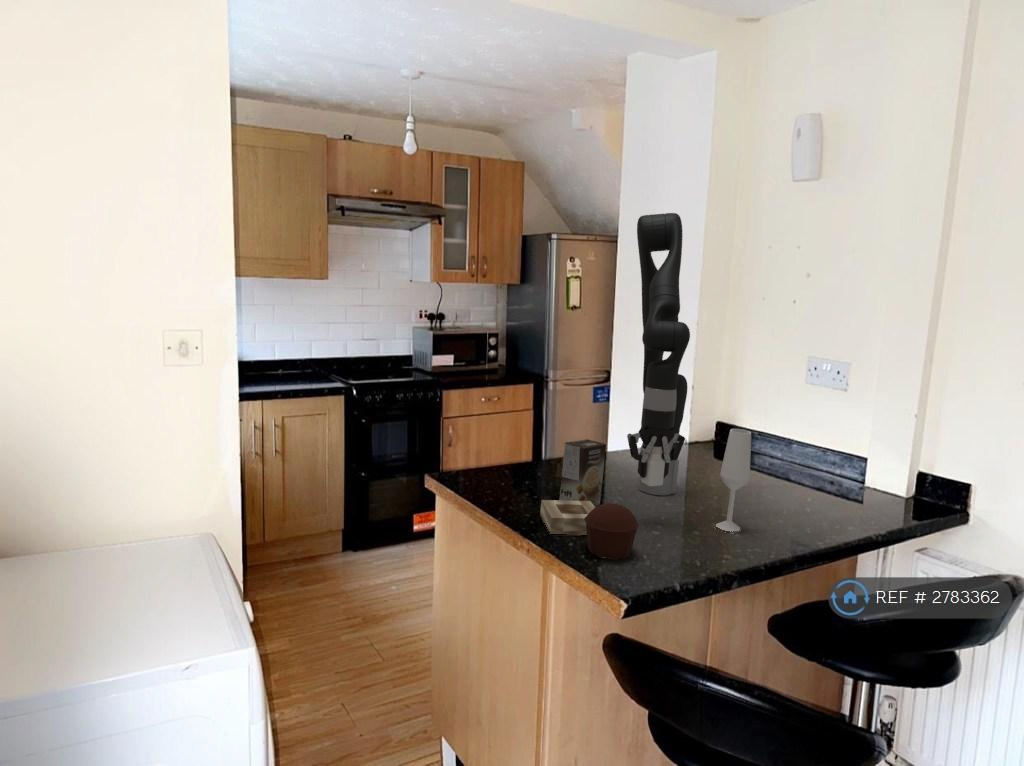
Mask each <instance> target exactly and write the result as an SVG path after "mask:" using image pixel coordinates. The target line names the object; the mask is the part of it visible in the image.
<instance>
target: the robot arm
mask: <svg viewBox="0 0 1024 766" xmlns="http://www.w3.org/2000/svg"><path fill="white" fill-rule="evenodd" d="M682 222H683V221H682V218H681V216H680V215H679V213H675V212H667V213H658V214H657V213H654V214H645V215H641V216H640V217H639V218H638V219H637V224H636V226H637V227H636V235H637V236H636V239H637V247H638V257H639V266H640V275H641V276H640V277H641V313H642V317H641V319H642V329H643V330H642V331H643V332H642V336H641V337H642V339H641V341H642V344H643V373H642V374H643V375H642V391H643V399H642V412H641V420H640V421H641V422H640V426H641V427H640V429H639V430H638V432H636V433H628V434H627V435H626V437H627V442H628V447H629V452H630V456H631V458H633V459H634V460H635V461H637V462H638V464H637V474H638V475H639V480H638V481H639V484H638V489H639V490H640V491H641V492H644V493H646V494H650V495H654V496H670V495H676V492H677V491H676V489H677V484H678V483H677V482H678V481H677V480H678V474H679V463H680V460H679V456H680V453H681V451H682V449H683V446H684V443H685V441H686V438H685V436H683V435H682V434H680V431H681V427H682V426H681V425H682V423H683V419H684V414H685V407H686V403H687V401H686V400H687V396H688V381H687V377H685V376H684V375H683V374H680V373H679V370H680V368H681V367H680V366H681V363H682V360H683V358H684V355H685V352H686V350H687V347H688V346H689V342H690V338H691V332H690V328H689V327H688V325H687V323H685V322H682V321H679V314H680V311H681V300H680V275H681V274H680V273H681V266H682V265H681V264H682V256H683V255H682V253H683V252H682V251H683V223H682ZM666 251H668V254H667V256H666V258H665V260H664V261H663V263H662V264H661V266H660V267H659V268H658V267H656V265H655V262H654V258H653V256H652V252H653V253H654V252H655V253H656V252H666ZM665 352H666V353H670V354H669V355H668V357H667V358H665V359H664V353H665ZM639 439H640V440H641V441H642V444H641V446H640V451H639V447H638V443H639ZM653 447H662V454H661V459H663V460H664V461H665V467H664V477H663V484H662V485H660V486H648V485H646V484H645V483H643V482H642V481H641V477H642V478H645V476H646V466H647V463H646V460H647V458H648V455H649V454H650V453H651V450H652V448H653Z"/></svg>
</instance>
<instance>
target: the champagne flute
mask: <svg viewBox="0 0 1024 766" xmlns="http://www.w3.org/2000/svg"><path fill="white" fill-rule="evenodd" d="M727 437H728V438H727V442H726V447H725V452H724V454H723V455H724V456H723V460H722V465H721V469H720V473H719V475H720V478H721V480H722V482H723V483H724V484H725V486H726V487H727V488H728V489H729V490H730V492H729V499H728V506H727V507H728V508H727V515H726V519H725V520H723V521H721V522H718V523H715V524H716V527H718V528H720V529H722V530H725V531H730V532H731V531H732V532H733V531H739V530H740V528H741V527H740V526H739V525H738V524H736V523H735V522H733V513H734V506H735V498H736V491H737V490H739V489H741V488H742V487H744V486H745V485H746V484H747V483H748V482H749V481H750V478H751V456H752V455H751V449H752V447H751V446H752V431H750V430H747V429H742V428H731V429H730V430H729V434H728V436H727Z"/></svg>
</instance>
